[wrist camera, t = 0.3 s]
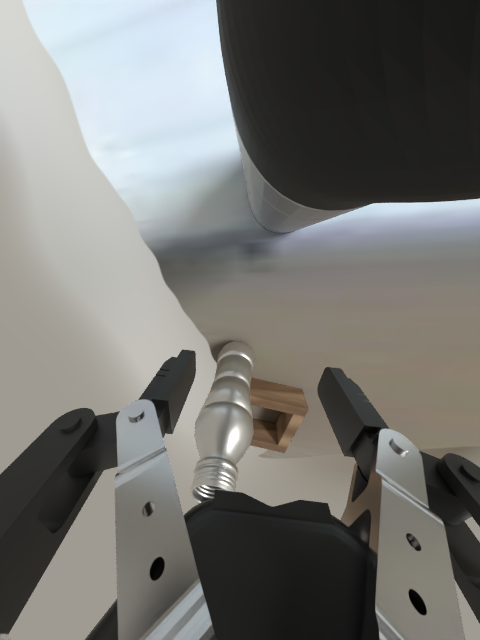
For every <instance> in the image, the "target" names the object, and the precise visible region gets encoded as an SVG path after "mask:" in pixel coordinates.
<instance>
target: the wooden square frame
mask: <svg viewBox="0 0 480 640" xmlns="http://www.w3.org/2000/svg"><path fill="white" fill-rule="evenodd" d="M250 401H251V405H255V406H259V407H264V408H268V409H272V410H277V411H281V413H280V416H279V418H278V420H277V422H276V424H274V423H269V422H265V421H261V420H256V419H253V428H254V434H253V437H252V440H251V444H250V445H252V446H257V447H260V448H265V449H269V450H273V451H278V452H282V453H285V451H286V449H287V447H288V446H289V444H290V442H291V440H292V438H293V437H294V435H295V433H296V431H297V429H298V428H299V426H300V424H301V422H302V420H303V418H304V417H305V415H306V413H307V411H308V406H307V403H306V400H305V396H304V393H303V390H302V389H298V388H294V387H289V386H285V385H281V384H276V383H272V382H268V381H263V380H259V379H255V378H251V384H250Z"/></svg>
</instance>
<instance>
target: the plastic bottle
mask: <svg viewBox="0 0 480 640" xmlns="http://www.w3.org/2000/svg"><path fill="white" fill-rule="evenodd" d="M254 365H255V357H254V353H253V351H252V349H251V347H250V346H248V345H247V344H245V343H243V342H239V341H233V342H230V343H228V344H226V345H225V346H224V347H223V348H222V349H221V351H220V352H219V355H218V359H217V370H216V375H215V380H214V382H213V385H212V388H211V390H210V393H209V395H208V397H207V399H206V401H205V403H204V405H203V407H202V409H201V411H200V413H199V415H198V418H197V420H196V423H195V439H196V445H197V449H198V452H199V455H200V458H201V460H199V461H198V462H197V464H196V467H195V471H194V473H195V476H194V479H193V483H192V486H191V491H190V494H191V497H192V498H193V499H194V500H195V501H196V502H198V503H201V502H204V501H206V500H209V499H213V498H214V493H215V489H216V490H224V491H232V492H235V488H236V481H237V478H238V469H237V467H236V464H237V463H238V462H239V461H240V459H241V458H242V457H243V456H244V454H245V453H246V451H247V449H248V448H249V446H250V444H251V440H252V437H253V434H254V428H253V417H252V409H251V401H250V384H251V377H252V372H253V369H254Z"/></svg>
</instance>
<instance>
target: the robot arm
mask: <svg viewBox="0 0 480 640" xmlns="http://www.w3.org/2000/svg"><path fill="white" fill-rule="evenodd" d="M216 3H217V14H218V24H219V34H220V43H221V51H222V57H223V63H224V69H225V75H226V80H227V86H228V91H229V96H230V102H231V107H232V112H233V118H234V123H235V128H236V134H237V139H238V144H239V148H240V154H241V159H242V165H243V170H244V176H245V181H246V187H247V192H248V198H249V203H250V207H251V210H252V213H253V215H254V216H255V218H256V220H257V221H258V222H259V223H260V224H261V225H262V226H263V227H264V228H266V229H267V230H269V231H272V232H275V233H289V232H293V231H295V230H298V229H301V228H304V227H307V226H310V225H313V224H316V223H319V222H321V221H324V220H327V219H330V218H333V217H336V216H339V215H341V214H344V213H347V212H350V211H353V210H355V209H358V208H361V207H364V206H367V205H369V204H372V203H411V202H441V201H456V200H468V199H478V198H480V0H216ZM195 360H196V359H195V351H190V350H182V351H181V352H180V354H179V355H178V357H177V358H176V357H171V358H170V359H168V360H167V361H166V362H164V364H163V365H162V367H161V368H160V370H159V371H158V372H157V374H156V376H155V377H154V378H153V380H152V381H151V383H150V384H149V385H148V387H147V388H146V390H145V391H144V393H143V394H142V396H141V397H140V398H139V400H137V401H134V402H131V403H129V404H128V405H126V406H125V407H124V408H123V409H122V410H121V411H119V412H115V413H109V414H104V415H98V416H95V414H94V412H93V411H92V410H91V409H88V408H80V409H76V410H73V411H70V412H68V413H66V414H64V415H62V416H61V417H59V418H58V419H57V420H55V421H54V422H53V423H52V424H51V425H50V426H49V427H48V428H47V429H46V430H45V431H44V432H43V433H42V434H41V435H40V436H39V437H38V438H37V439H36V440H35V441H34V442H33V443H32V444H31V445H30V446H29V447H28V448H27V449H26V450H25V451H24V452H23V453H22V454H21V455H20V456H19V457H18V458H17V459H16V460H15V461H14V462H13V463H12V464H11V465H10V466H8V468H7V469H6V470H4V471H3V473H1V474H0V640H11V639H10V637H9V635H8V634H9V632H10V630H11V629H12V627H13V625H14V623H15V622H16V620H17V618H18V617H19V615H20V613H21V611H22V610H23V608H24V606H25V604H26V603H27V601H28V599H29V598H30V596H31V594H32V592H33V591H34V589H35V587H36V586H37V584H38V582H39V580H40V579H41V577H42V575H43V573H44V572H45V570H46V568H47V567H48V565H49V563H50V561H51V560H52V558H53V556H54V555H55V553H56V551H57V549H58V548H59V546H60V544H61V543H62V541H63V539H64V538H65V536H66V534H67V532H68V530H69V529H70V527H71V525H72V524H73V522H74V520H75V518H76V517H77V515H78V513H79V512H80V510H81V508H82V507H83V505H84V503H85V501H86V500H87V498H88V496H89V495H90V493H91V491H92V489H93V488H94V486H95V484H96V483H97V481H98V479H99V477H100V476H101V474H102V472H103V470H106V469H110V468H114V467H118V473H117V474H116V476H115V519H116V520H115V523H116V565H117V599H116V601H115V602H114V603H113V605H112V606H111V607H110V608H109V610H108V611H107V612H106V613H105V615H104V616H103V617H102V619H101V620H100V621H99V622H98V624H97V625H96V626H95V627H94V629H93V630H92V631H91V633H90V634H89V635H88V636H87V638H86V639H85V640H465V635H464V631H463V624H462V619H461V613H460V608H459V602H458V597H457V591H456V586H455V581H456V582H457V584H458V586H459V588H460V589H461V591H462V593H463V594H464V597H465V598H466V600H467V602H468V604H469V605H470V607H471V609H472V611H473V612H474V614H475V616H476V618H477V620H478V621H479V623H480V542H479V541H478V540H477V538H476V537H475V535H474V534H473V533H472V531H471V530H470V528H469V527H468V526H467V524H466V523H465V520H467V519H468V518H470V517H473V518H474V520H475V521H476V522H477V524H478V525H479V526H480V468H479V467H478V466H477V465H475V464H473V463H472V462H471V461H469V460H467V459H465V458H464V457H461V456H459V455H456V454H452V453H449V454H446V455H445V456H443V457H442V458H441V459H439V458H436V457H434V456H431V455H429V454H426V453H423V452H421V451H419V450H418V449H417V448H416V447H415V445H414V444H413V443H412V442H411V441H410V440H408V439H407V438H406V437H405V436H403V435H402V434H400V433H398V432H396V431H394V430H391V429H389V427H388V426H387V425H386V423H385V422H384V420H383V419H382V418H381V416H380V415H379V414H378V412H377V411H376V409H375V408H374V407H373V405H372V404H371V403H370V402H369V400H368V399H367V397H366V396H365V395H364V393H363V392H362V390H361V389H360V388H359V386H358V385H357V384H356V383H354V382H353V381H352V380H351V379H350V378H347V376H346V375H345V374H344V372H343V371H342V370H341V369H339V368H331V367H326V368H325V370H324V372H323V375H322V377H321V379H320V382H319V384H318V396H319V398H320V401H321V403H322V405H323V408H324V410H325V412H326V415H327V417H328V419H329V422H330V424H331V426H332V429H333V431H334V433H335V436H336V438H337V440H338V443H339V445H340V447H341V450H342V452H343V454H344V456H349V457H354V458H355V460H356V462H357V463H356V464H355V466H354V471H353V475H352V481H351V486H350V491H349V497H348V501H347V506H346V509H345V511H344V513H343V515H342V518H341V520H339V519H337V518H336V517H334V516H332V515H331V513H330V510H329V506H328V503H321V502H313V501H304V500H298V501H294V502H290V503H286V504H283V505H279V506H275V507H271V506H268V505H266V504H264V503H262V502H260V501H258V500H256V499H254V498H252V497H250V496H248V495H246V494H244V493H239V492H232V491H224V490H216V489H215V493H214V498H213V499H209V500H206V501H204V502H201V503H199V504H198V505H196V506H194V507H193V508H192V509H191V510H189V511H188V512H187V513H186V514H185V515H184V516H183V512H182V508H181V504H180V501H179V497H178V493H177V489H176V485H175V481H174V477H173V473H172V469H171V465H170V461H169V458H168V454H167V450H166V448H165V445H164V441H163V437H164V435H165V433H167V434H172V433H173V431H174V428H175V426H176V423H177V421H178V418H179V416H180V413H181V411H182V408H183V406H184V404H185V401H186V399H187V396H188V394H189V391H190V389H191V386H192V384H193V381H194V378H195V371H196V361H195ZM454 579H455V581H454Z"/></svg>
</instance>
